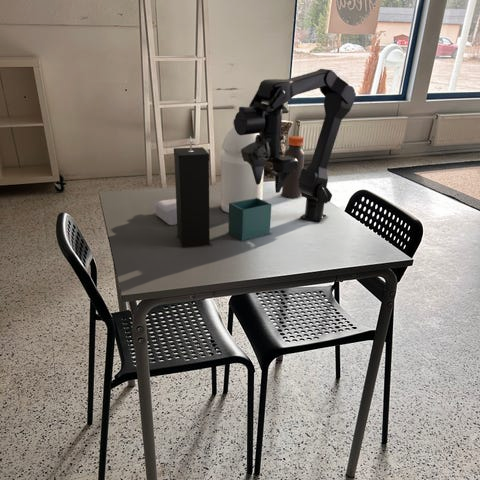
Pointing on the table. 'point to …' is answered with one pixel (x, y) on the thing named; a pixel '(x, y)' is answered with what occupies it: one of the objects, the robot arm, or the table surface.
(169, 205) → the charger
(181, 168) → the tall black block
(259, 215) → the teal box
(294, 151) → the bottle
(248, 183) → the bottle
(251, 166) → the robot arm
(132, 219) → the table surface
